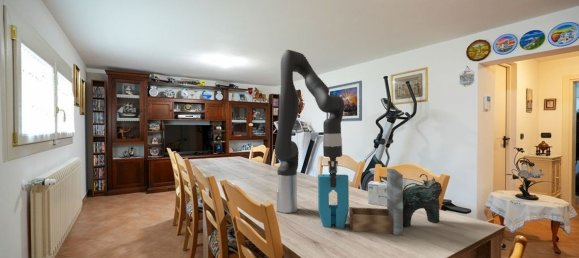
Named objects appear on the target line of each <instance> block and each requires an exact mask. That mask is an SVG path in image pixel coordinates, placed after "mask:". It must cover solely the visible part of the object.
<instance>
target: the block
mask: <svg viewBox="0 0 579 258" xmlns="http://www.w3.org/2000/svg"><path fill="white" fill-rule="evenodd" d="M329 175H330V173H329V174H328V173H327V174H326V173H325V174H322V173H321V174H318V175H317V209H318V210H317V211H318V213H319V214H318V215H319V217H320V220H321V221H320V222H321V225H322V227H324V228H332V225H335V227H336V228H345V226H346V222H347V218H348V214H349V207H350V206H349V205H350V204H349V202H350V200H349V195H350V194H349V193H350V192H349V189H350V188H349V175H348V174H336V175H337V177H336V187H331V186H330V176H329ZM332 191H334V192H335V193H336V194H337V195H336V196H337V197H336V198H337V199H336V204H330V193H332Z"/></svg>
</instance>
